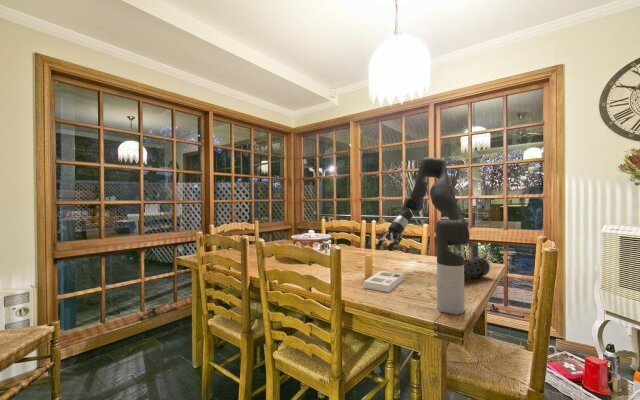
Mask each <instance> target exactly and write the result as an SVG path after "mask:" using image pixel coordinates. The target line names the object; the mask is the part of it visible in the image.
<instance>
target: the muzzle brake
mask: <svg viewBox="0 0 640 400" xmlns="http://www.w3.org/2000/svg"><path fill="white" fill-rule="evenodd" d="M490 271H491V263H490V262H489V260H487V259H486V258H483V257H480V256H478V257H471V258H469V259H464V280H467V279H470V280H474V279H477V278H479V277H484V276H486V275H488V273H489V272H490Z"/></svg>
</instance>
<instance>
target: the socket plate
mask: <svg viewBox="0 0 640 400" xmlns="http://www.w3.org/2000/svg"><path fill="white" fill-rule="evenodd" d="M403 281H405V274H404V273H400V272H392V271H391V272H390V271H385V270H380V271H378V272H377V273H375V274H373V276H372V277H370V278H368V279H364V280H363V288H364V289H369V290H373V291H378V292H385V293H390V292H391V291H392V290H394V289H395V287H397V286H398V285H400V284H401V283H402V282H403Z"/></svg>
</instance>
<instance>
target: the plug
mask: <svg viewBox="0 0 640 400" xmlns="http://www.w3.org/2000/svg"><path fill="white" fill-rule="evenodd" d="M373 258H374V257H373V254H365V255H364V280H367V279H368V278H370V277H372V276H373V275H374V273H373V272H374V271H373V269H374V268H373V265H374V264H373V263H374V262H373V261H374V259H373Z"/></svg>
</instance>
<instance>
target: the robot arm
mask: <svg viewBox="0 0 640 400" xmlns="http://www.w3.org/2000/svg"><path fill="white" fill-rule="evenodd" d="M425 177H428V178H434V179H435V178H436V179H437V180H436V181H435V182H434V183H433V184H432V186H431V188H430V190H429V197H430V200H431V204H432V205H433V206H434V208H435V209H436V210H437V211H439V212H440V213H441V214H443V216H445V217H447V218H448V219H440V220H438V221H437V222H436V224H435V245H436V308H437V310H438V312H440V313H445V314H451V315H456V316H458V315H461V314H463V313H465V279H464V260H465V258H464V256H462V255H461V254H459V253H455V252H453V251H451V250H449V249H448V246H464V245H467V244H468V243H469V241H470V229H469V227H468V224H467V222H466V219H465V218H464V216H463V213H462V212H461V210H460V207H459V205H458V202H457V199H456V195H455V193H454V190H453V187H452V184H451V182H450V179H449V174H448V170H447V166H446V161H444V159H443V158H438V157H437V158H436V157H424V158H422V159H421V161H420V164H419V166H418V170H417V175H416V178H415V183H414V186H413V188H412V190H411V193H410V195H409V196H406V197H405V198H404V201H403V205H402V207H401V210H400V212H399V213H398V214H397V216H396V217H394V219H393V220H392V222H391V223H390V225H389V226H388V230H387V231H386V232H385V230H383V231H382V232H381V233H380V234H379V236H378V237H377V240H378V242H377V243H376V245H375V246H376V248H377V249H380V248H381V246H382V245H383V243H385V242H387V241H388V242H389V241H390V243H389V244H388V246H387V247H386V249H387V250H388V251H389V252H390V251H391V250H393V248H394V246H399V244H400V243H401V241H402V240H403V239H404V236H403V235H402V234H403V232H404V231H405V229H406V228H407V226H408V224H409V222H410V221H411V219H412V218H413V215H414V214H413V213H412V212H414V213H420V212H421V211H422V209H423V206H424V198H425V196H426V195H427V192H428V186H427V183H426V181H425Z"/></svg>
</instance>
